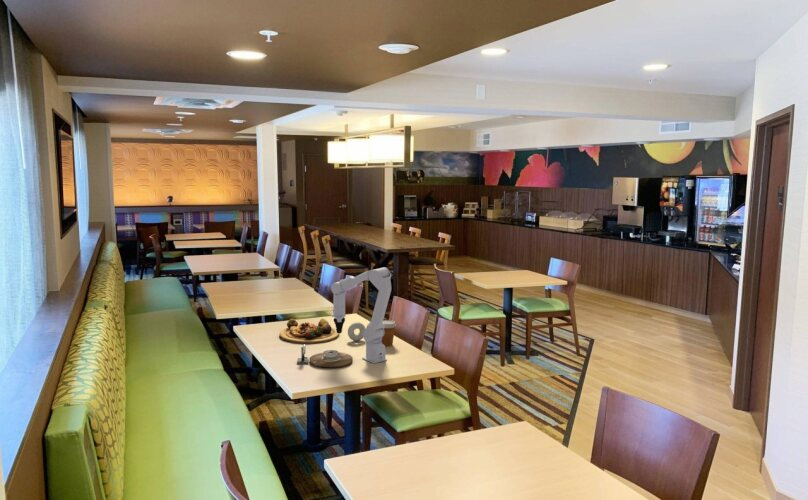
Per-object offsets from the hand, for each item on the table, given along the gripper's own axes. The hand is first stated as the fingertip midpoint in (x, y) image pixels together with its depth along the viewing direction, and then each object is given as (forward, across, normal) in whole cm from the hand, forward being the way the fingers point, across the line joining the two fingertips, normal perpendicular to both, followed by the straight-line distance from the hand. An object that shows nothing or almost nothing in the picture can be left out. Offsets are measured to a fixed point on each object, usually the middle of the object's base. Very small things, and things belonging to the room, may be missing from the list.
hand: (339, 332), depth 288 cm
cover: (+8, +16, -4) cm, 18 cm away
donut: (+10, -18, +9) cm, 23 cm away
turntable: (+9, +16, -4) cm, 19 cm away
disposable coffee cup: (+10, -10, +24) cm, 28 cm away
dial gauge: (+9, +16, -17) cm, 25 cm away
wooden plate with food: (+10, -30, -16) cm, 35 cm away
